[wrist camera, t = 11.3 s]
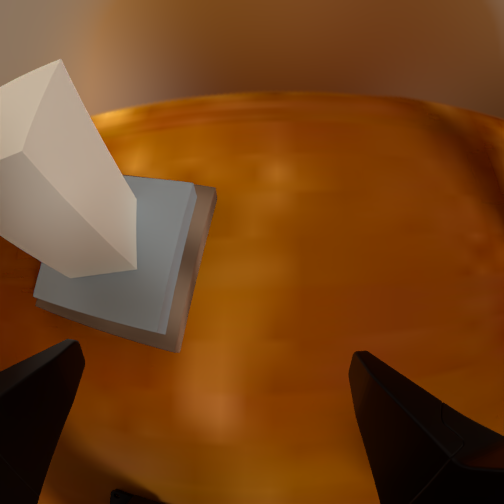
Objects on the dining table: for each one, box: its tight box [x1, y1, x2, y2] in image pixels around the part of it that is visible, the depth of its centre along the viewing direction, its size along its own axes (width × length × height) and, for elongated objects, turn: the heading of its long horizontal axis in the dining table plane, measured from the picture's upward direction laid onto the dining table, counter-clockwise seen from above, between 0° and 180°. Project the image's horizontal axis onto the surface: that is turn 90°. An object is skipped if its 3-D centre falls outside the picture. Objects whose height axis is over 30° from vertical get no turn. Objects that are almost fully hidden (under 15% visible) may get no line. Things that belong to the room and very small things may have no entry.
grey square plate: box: [35, 175, 217, 352], centre depth 22 cm, size 12×12×2 cm
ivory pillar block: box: [0, 59, 137, 278], centre depth 13 cm, size 5×5×12 cm
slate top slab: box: [33, 176, 197, 335], centre depth 20 cm, size 10×10×2 cm
